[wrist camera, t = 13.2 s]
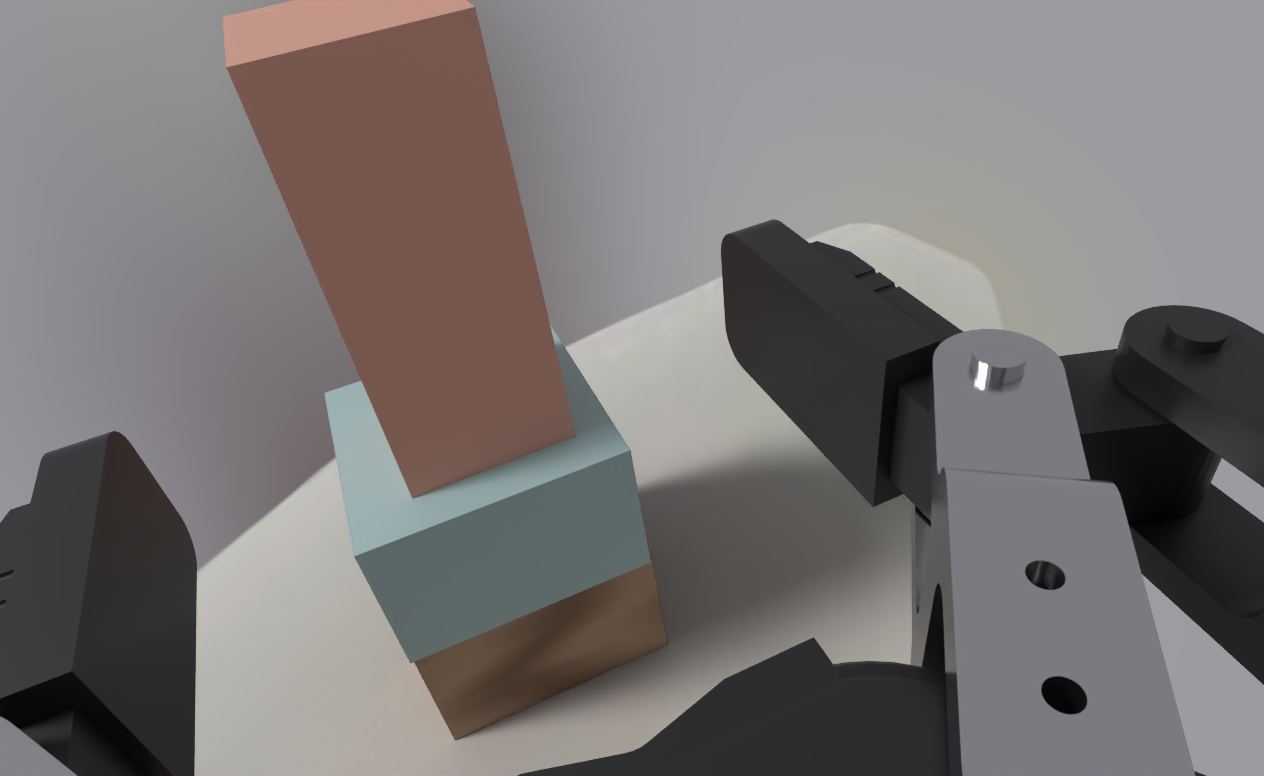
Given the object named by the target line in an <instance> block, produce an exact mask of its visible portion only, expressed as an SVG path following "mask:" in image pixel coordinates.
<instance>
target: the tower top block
mask: <svg viewBox="0 0 1264 776" xmlns="http://www.w3.org/2000/svg"><path fill="white" fill-rule="evenodd" d="M550 327H551V325H550ZM551 331H552V335H553V339H554V344H555V348H556V352H557V356H558V361H559V365H560V369H561V373H562V378H563V382H564V386H565V390H566V394H567V399H568V403H569V407H570V411H571V416H572V420H573V424H574V428H575V433H576V437H573V438H570V439H568V440H565V441H562V442H560V443H557V444H555V445H552V446H549V447H547V448H544V449H541V450H539V451H536V452H534V453H531V454H528V455H526V456H523V457H520V458H518V459H515V460H513V461H510V462H507V463H505V464H502V465H499V466H497V467H494V468H492V469H489V470H486V471H484V472H481V473H478V474H476V475H473V476H471V477H468V478H465V479H463V480H460V481H457V482H455V483H452V484H450V485H447V486H444V487H442V488H439V489H436V490H434V491H431V492H429V493H426V494H423V495H421V496H418V497H415V498H413V499H412V497H411V495H410V492H409V490H408V488H407V485H406V483H405V481H404V478H403V476H402V474H401V471H400V469H399V467H398V464H397V462H396V460H395V457H394V455H393V453H392V451H391V448H390V446H389V444H388V441H387V439H386V437H385V434H384V432H383V430H382V427H381V425H380V423H379V420H378V418H377V416H376V413H375V411H374V409H373V406H372V404H371V402H370V399H369V397H368V395H367V393H366V390H365V388H364V386H363V383H362V381H359V382H356V383H353V384H350V385H347V386H344V387H341V388H339V389H335V390H332V391H329V392H326V393H325V399H326V405H327V410H328V416H329V421H330V426H331V432H332V437H333V443H334V448H335V454H336V459H337V465H338V470H339V476H340V481H341V487H342V492H343V498H344V503H345V509H346V514H347V519H348V525H349V530H350V536H351V541H352V547H353V552H354V557H355V559H356V561H357V563H358V564H359V566H360V568H361V570H362V572H363V574H364V576H365V578H366V580H367V582H368V583H369V585H370V587H371V589H372V591H373V593H374V595H375V597H376V599H377V601H378V602H379V604H380V606H381V608H382V610H383V612H384V614H385V616H386V618H387V620H388V621H389V623H390V625H391V627H392V629H393V631H394V633H395V635H396V637H397V639H398V640H399V642H400V644H401V646H402V648H403V650H404V652H405V654H406V656H407V658H408V659H409V661H410V663H413V662H415V661H417V660H420V659H422V658H424V657H427V656H429V655H432V654H434V653H436V652H439V651H441V650H443V649H446V648H448V647H451V646H453V645H455V644H458V643H460V642H462V641H465V640H467V639H470V638H472V637H474V636H477V635H479V634H482V633H484V632H486V631H489V630H491V629H493V628H496V627H498V626H501V625H503V624H505V623H508V622H510V621H512V620H515V619H517V618H520V617H522V616H524V615H527V614H529V613H531V612H534V611H536V610H539V609H541V608H543V607H546V606H548V605H551V604H553V603H555V602H558V601H560V600H562V599H565V598H567V597H570V596H572V595H574V594H577V593H579V592H581V591H584V590H586V589H589V588H591V587H593V586H596V585H598V584H600V583H603V582H605V581H608V580H610V579H612V578H615V577H617V576H619V575H622V574H624V573H627V572H629V571H631V570H634V569H636V568H639V567H641V566H643V565H646V564H648V563H650V562H651V560H650V554H649V549H648V543H647V538H646V532H645V527H644V522H643V516H642V511H641V505H640V500H639V494H638V489H637V483H636V478H635V472H634V467H633V462H632V456H631V451H630V449H629V447H628V446H627V444H626V442H625V441H624V439H623V438H622V436H621V435H620V433H619V432H618V430H617V428H616V427H615V425H614V424H613V422H612V421H611V419H610V417H609V416H608V414H607V413H606V411H605V410H604V408H603V406H602V405H601V403H600V402H599V400H598V399H597V397H596V396H595V394H594V392H593V391H592V389H591V388H590V386H589V385H588V383H587V381H586V380H585V378H584V377H583V375H582V374H581V372H580V371H579V369H578V367H577V366H576V364H575V363H574V361H573V360H572V358H571V356H570V355H569V353H568V352H567V350H566V349H565V347H564V346H563V344H562V342H561V341H560V339H559V338H558V336H557V335H556V333H555V332H554V330H553V328H552V327H551Z"/></svg>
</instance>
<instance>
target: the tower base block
mask: <svg viewBox="0 0 1264 776" xmlns="http://www.w3.org/2000/svg"><path fill="white" fill-rule="evenodd" d="M650 560H651V562H650V563H648V564H646V565H643V566H641V567H639V568H636V569H634V570H631V571H629V572H627V573H624V574H622V575H619V576H617V577H615V578H612V579H610V580H608V581H605V582H603V583H600V584H598V585H596V586H593V587H591V588H589V589H586V590H584V591H581V592H579V593H577V594H574V595H572V596H570V597H567V598H565V599H562V600H560V601H558V602H555V603H553V604H551V605H548V606H546V607H543V608H541V609H539V610H536V611H534V612H531V613H529V614H527V615H524V616H522V617H520V618H517V619H515V620H512V621H510V622H508V623H505V624H503V625H501V626H498V627H496V628H493V629H491V630H489V631H486V632H484V633H482V634H479V635H477V636H474V637H472V638H470V639H467V640H465V641H462V642H460V643H458V644H455V645H453V646H451V647H448V648H446V649H443V650H441V651H439V652H436V653H434V654H432V655H429V656H427V657H424V658H422V659H420V660H417V661H415V662H414V663H415V665H416V666H417V668H418V670H419V672H420V674H421V676H422V678H423V680H424V682H425V684H426V686H427V688H428V690H429V691H430V693H431V695H432V697H433V699H434V701H435V703H436V705H437V707H438V709H439V711H440V713H441V714H442V716H443V718H444V720H445V722H446V724H447V726H448V728H449V730H450V732H451V734H452V736H453V737H454V739H455V740H457V739H459V738H461V737H464V736H466V735H468V734H470V733H472V732H475V731H477V730H479V729H481V728H483V727H486V726H488V725H490V724H492V723H494V722H497V721H499V720H501V719H503V718H505V717H508V716H510V715H512V714H514V713H516V712H519V711H521V710H523V709H525V708H527V707H530V706H532V705H534V704H536V703H538V702H541V701H543V700H545V699H547V698H549V697H552V696H554V695H556V694H558V693H560V692H563V691H565V690H567V689H569V688H571V687H574V686H576V685H578V684H580V683H582V682H585V681H587V680H589V679H591V678H593V677H595V676H598V675H600V674H602V673H604V672H606V671H609V670H611V669H613V668H615V667H617V666H620V665H622V664H624V663H626V662H628V661H631V660H633V659H635V658H637V657H639V656H642V655H644V654H646V653H648V652H650V651H653V650H655V649H657V648H659V647H661V646H664V645H666V644H667V639H666V633H665V628H664V622H663V617H662V611H661V606H660V600H659V594H658V589H657V583H656V578H655V572H654V567H653V561H652V558H651V556H650Z"/></svg>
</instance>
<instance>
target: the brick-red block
mask: <svg viewBox="0 0 1264 776" xmlns="http://www.w3.org/2000/svg"><path fill="white" fill-rule="evenodd" d="M223 29H224V42H225V54H226V68H227V70H228V72H229V75H230V77H231V79H232V81H233V84H234V86H235V88H236V91H237V93H238V95H239V98H240V100H241V102H242V105H243V107H244V109H245V112H246V114H247V116H248V118H249V121H250V123H251V126H252V128H253V130H254V133H255V135H256V137H257V139H258V142H259V144H260V146H261V149H262V151H263V153H264V156H265V158H266V160H267V163H268V165H269V167H270V170H271V172H272V174H273V177H274V179H275V181H276V183H277V186H278V188H279V190H280V193H281V195H282V198H283V200H284V202H285V204H286V207H287V209H288V211H289V214H290V216H291V218H292V221H293V223H294V225H295V228H296V230H297V232H298V235H299V237H300V239H301V242H302V244H303V246H304V249H305V251H306V253H307V256H308V258H309V260H310V262H311V265H312V267H313V269H314V272H315V274H316V276H317V279H318V281H319V283H320V286H321V288H322V290H323V293H324V295H325V297H326V300H327V302H328V304H329V306H330V309H331V311H332V313H333V316H334V318H335V321H336V323H337V325H338V327H339V330H340V332H341V334H342V337H343V339H344V341H345V344H346V346H347V348H348V350H349V353H350V355H351V357H352V360H353V362H354V365H355V367H356V369H357V372H358V374H359V376H360V379H361V381H362V383H363V386H364V388H365V390H366V393H367V395H368V397H369V399H370V402H371V404H372V406H373V409H374V411H375V413H376V416H377V418H378V420H379V423H380V425H381V427H382V430H383V432H384V434H385V437H386V439H387V441H388V444H389V446H390V448H391V451H392V453H393V455H394V457H395V460H396V462H397V464H398V467H399V469H400V471H401V474H402V476H403V478H404V481H405V483H406V485H407V488H408V490H409V492H410V495H411V497H412V499H413V498H415V497H418V496H421V495H423V494H426V493H429V492H431V491H434V490H436V489H439V488H442V487H444V486H447V485H450V484H452V483H455V482H457V481H460V480H463V479H465V478H468V477H471V476H473V475H476V474H478V473H481V472H484V471H486V470H489V469H492V468H494V467H497V466H499V465H502V464H505V463H507V462H510V461H513V460H515V459H518V458H520V457H523V456H526V455H528V454H531V453H534V452H536V451H539V450H541V449H544V448H547V447H549V446H552V445H555V444H557V443H560V442H562V441H565V440H568V439H570V438H573V437H576V433H575V428H574V424H573V420H572V416H571V411H570V407H569V403H568V399H567V394H566V390H565V386H564V382H563V378H562V373H561V369H560V365H559V361H558V356H557V352H556V348H555V344H554V339H553V335H552V331H551V327H550V323H549V318H548V314H547V310H546V306H545V301H544V298H543V293H542V289H541V284H540V280H539V276H538V272H537V268H536V263H535V259H534V255H533V251H532V247H531V242H530V238H529V234H528V229H527V225H526V221H525V217H524V212H523V208H522V204H521V200H520V195H519V191H518V187H517V183H516V179H515V175H514V170H513V167H512V162H511V158H510V153H509V149H508V145H507V141H506V136H505V132H504V128H503V123H502V119H501V115H500V111H499V107H498V103H497V98H496V94H495V90H494V85H493V81H492V77H491V73H490V69H489V64H488V60H487V56H486V52H485V47H484V43H483V39H482V35H481V30H480V27H479V22H478V18H477V13H476V9H475V6H473V5H472V4H471V3H469V2H468V1H467V0H294V1H290V2H285V3H281V4H276V5H272V6H268V7H263V8H259V9H255V10H250V11H246V12H242V13H237V14H233V15H229V16H224V17H223Z"/></svg>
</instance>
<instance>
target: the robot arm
mask: <svg viewBox="0 0 1264 776" xmlns="http://www.w3.org/2000/svg"><path fill="white" fill-rule="evenodd" d="M721 260H722V277H723V293H724V309H725V325H726V332H727V337H728V341H729V344H730V346H731V349H732V351H733V353H734V355H735V357H736V359H737V361H738V362H739V364H740V365H741V366H742V367H743V369H744V370H745V371H746V372H747V373H748V374H749V375H750V376H751V377H752V378H753V379H754V380H755V381H756V382H757V384H758V385H759V386H760V387H761V388H762V389H763V390H764V391H765V392H766V393H767V394H768V395H769V396H770V397H771V399H772V400H773V401H774V402H775V403H776V404H777V405H778V406H779V407H780V408H781V409H782V410H783V411H784V412H785V413H786V415H787V416H788V417H789V418H790V419H791V420H792V421H793V422H794V423H795V424H796V425H797V426H798V427H799V428H800V429H801V431H802V432H803V433H804V434H805V435H806V436H807V437H808V438H809V439H810V440H811V441H812V442H813V443H814V444H815V446H816V447H817V448H818V449H819V450H820V451H821V452H822V453H823V454H824V455H825V456H826V457H827V458H828V459H829V460H830V462H831V463H832V464H833V465H834V466H835V467H836V468H837V469H838V470H839V471H840V472H841V473H842V474H843V475H844V476H845V478H846V479H847V480H848V481H849V482H850V483H851V484H852V485H853V486H854V487H855V488H856V489H857V490H858V491H859V492H860V494H861V495H862V496H863V497H864V498H865V499H866V500H867V501H868V502H869V503H870V504H871V505H872V506H873V507H874V506H876V505H879V504H881V503H883V502H886V501H888V500H890V499H893V498H895V497H897V496H899V495H902V494H904V495H905V496H906V497H907V498H908V499H909V500H910V501H911V502H912V503H913V512H912V520H911V554H912V648H911V662H910V665H908V664H901V663H895V662H878V661H862V662H846V663H839V664H832V662H831V661H830V659H829V658H828V657H827V655H826V654H825V652H824V651H823V650H822V648H821V647H820V645H819V644H818V643H817V641H816V640H815V639H814V638H812V639H809V640H807V641H805V642H803V643H801V644H799V645H797V646H794V647H792V648H790V649H788V650H786V651H784V652H781V653H779V654H777V655H775V656H773V657H771V658H769V659H766V660H764V661H762V662H760V663H758V664H756V665H754V666H751V667H749V668H747V669H745V670H743V671H741V672H739V673H736V674H734V675H732V676H730V677H728V678H726V679H724V680H723V681H722V682H720V683H719V684H718V685H717V686H715V687H714V688H713V689H712V690H711V691H709V692H708V693H707V694H706V695H705V696H703V697H702V698H701V699H700V700H699V701H697V702H696V703H695V704H694V705H692V706H691V707H690V708H689V709H688V710H686V711H685V712H684V713H683V714H682V715H680V716H679V717H678V718H677V719H676V720H674V721H673V722H672V723H671V724H670V725H668V726H667V727H666V728H665V729H663V730H662V731H661V732H660V733H659V734H657V735H656V736H655V737H654V738H653V739H651V740H650V741H649V742H648V743H646V744H645V745H644V746H642V747H641V748H639V749H636V750H634V751H632V752H628V753H624V754H619V755H614V756H609V757H604V758H599V759H594V760H589V761H584V762H579V763H574V764H569V765H564V766H558V767H553V768H548V769H543V770H538V771H533V772H528V773H523V774H520V775H518V776H1205V775H1203V774H1200V773H1198V772H1195V771H1194V770H1193V765H1192V761H1191V758H1190V754H1189V750H1188V747H1187V743H1186V739H1185V735H1184V731H1183V728H1182V724H1181V720H1180V717H1179V713H1178V709H1177V705H1176V702H1175V698H1174V694H1173V690H1172V686H1171V683H1170V679H1169V675H1168V671H1167V668H1166V664H1165V660H1164V657H1163V653H1162V649H1161V645H1160V641H1159V638H1158V634H1157V630H1156V626H1155V623H1154V619H1153V615H1152V611H1151V608H1150V604H1149V600H1148V596H1147V592H1146V589H1145V585H1144V581H1143V577H1142V574H1143V575H1144V576H1145V577H1146V578H1147V579H1148V580H1149V581H1150V582H1152V584H1154V585H1155V586H1156V587H1157V588H1158V589H1159V590H1160V591H1161V592H1162V593H1164V594H1165V595H1166V596H1167V597H1168V598H1169V599H1170V600H1171V601H1172V602H1173V603H1174V604H1176V605H1177V606H1178V607H1179V608H1180V609H1181V610H1182V611H1183V612H1184V613H1186V614H1187V615H1188V616H1189V617H1190V618H1191V619H1192V620H1193V621H1194V622H1195V623H1196V624H1198V625H1199V626H1200V627H1201V628H1202V629H1203V630H1204V631H1205V632H1206V633H1207V634H1209V635H1210V636H1211V637H1212V638H1213V639H1214V640H1215V641H1216V642H1217V643H1218V644H1220V645H1221V646H1222V647H1223V648H1224V649H1225V650H1226V651H1227V652H1228V653H1230V655H1232V656H1233V657H1234V658H1235V659H1236V660H1237V661H1238V662H1239V663H1240V664H1241V665H1243V666H1244V667H1245V668H1246V669H1247V670H1248V671H1249V672H1250V673H1251V674H1253V675H1254V676H1255V677H1256V678H1257V679H1258V680H1259V681H1260V682H1261V683H1262V684H1263V685H1264V523H1263V522H1262V521H1261V520H1259V519H1258V518H1257V517H1255V516H1254V515H1253V514H1251V513H1250V512H1249V511H1247V510H1246V509H1245V508H1243V507H1242V506H1241V505H1239V504H1238V503H1237V502H1235V501H1234V500H1233V499H1231V498H1230V497H1228V496H1227V495H1226V494H1225V493H1223V492H1222V491H1221V490H1219V489H1218V488H1217V487H1215V486H1213V485H1212V484H1211V481H1212V478H1213V476H1214V474H1215V472H1216V470H1217V467H1218V465H1219V463H1220V461H1221V458H1223V459H1224V460H1226V461H1227V462H1229V463H1230V464H1232V465H1233V466H1234V467H1236V468H1237V469H1238V470H1240V471H1241V472H1243V473H1244V474H1246V475H1247V476H1248V477H1250V478H1251V479H1253V480H1254V481H1255V482H1257V483H1258V484H1260V485H1261V486H1262V487H1264V334H1262V333H1261V332H1259V331H1257V330H1255V329H1254V328H1252V327H1250V326H1248V325H1246V324H1245V323H1243V322H1241V321H1239V320H1237V319H1235V318H1233V317H1230V316H1228V315H1225V314H1222V313H1219V312H1216V311H1212V310H1209V309H1204V308H1198V307H1191V306H1178V305H1172V306H1171V305H1170V306H1158V307H1152V308H1148V309H1145V310H1142V311H1140V312H1138V313H1136V314H1134V315H1133V316H1131V317H1130V318H1129V319H1128V320H1127V322H1126V324H1125V326H1124V329H1123V332H1122V336H1121V339H1120V342H1119V345H1118V349H1113V350H1105V351H1097V352H1089V353H1082V354H1073V355H1066V356H1058V355H1057V354H1056V353H1055V352H1054V351H1052V349H1051V348H1049V347H1048V346H1046V345H1045V344H1043V343H1041V342H1040V341H1037V340H1036V339H1033V338H1031V337H1028V336H1025V335H1022V334H1019V333H1015V332H1010V331H1005V330H996V329H980V330H971V331H966V332H963V331H961V330H960V329H959V328H957V327H956V326H954V325H953V324H952V323H950V322H949V321H947V320H946V319H945V318H943V317H942V316H940V315H939V314H937V313H936V312H935V311H933V310H932V309H930V308H929V307H928V306H926V305H925V304H923V303H922V302H921V301H919V300H918V299H916V298H915V297H914V296H912V295H911V294H909V293H908V292H906V291H905V290H904V289H902V288H901V287H897V288H896V287H895V284H894V282H892V281H891V280H890V279H888V278H887V277H885V276H884V275H882V274H881V273H880V272H879V273H876V272H875V269H874V268H873V267H871V266H870V265H868V264H867V263H866V262H864V261H863V260H861V259H860V258H859V257H857V256H856V255H854V254H853V253H851V252H849V251H846V250H843V249H840V248H837V247H834V246H831V245H828V244H825V243H821V242H818V241H816V242H813V243H808V242H807V241H806V240H804V239H803V238H801V237H800V236H799V235H798V234H796V233H795V232H794V231H792V230H791V229H790V228H788V227H787V226H785V225H784V224H783V223H782V222H780V221H778V220H770V221H767V222H764V223H761V224H757V225H754V226H751V227H748V228H745V229H742V230H739V231H736V232H733V233H730V234H727V235H726V236H725V237H724V238H723V241H722V245H721ZM1141 573H1142V574H1141ZM196 592H197V562H196V555H195V550H194V547H193V543H192V540H191V537H190V534H189V532H188V530H187V527H186V525H185V523H184V521H183V520H182V518H181V516H180V515H179V513H178V512H177V511H176V509H175V508H174V506H173V505H172V503H171V502H170V500H169V499H168V497H167V496H166V494H165V493H164V491H163V490H162V489H161V487H160V486H159V484H158V483H157V481H156V480H155V478H154V477H153V475H152V474H151V472H150V471H149V469H148V468H147V467H146V465H145V464H144V462H143V461H142V459H141V458H140V456H139V455H138V454H137V452H136V450H135V449H134V447H133V446H132V445H131V443H130V442H129V441H128V440H127V439H126V437H124V436H123V435H122V434H121V433H119V432H116V431H114V432H110V433H107V434H103V435H100V436H97V437H94V438H91V439H88V440H85V441H82V442H79V443H76V444H72V445H69V446H66V447H64V448H60V449H58V450H54V451H51V452H48V453H46V454H44V456H43V457H42V460H41V463H40V466H39V470H38V475H37V479H36V483H35V487H34V491H33V495H32V499H31V503H30V504H27V505H24V506H21V507H18V508H15V509H12V510H10V511H9V513H8V514H7V515H6V516H5V518H4V519H3V520H2V522H1V523H0V776H194V756H195V674H196Z"/></svg>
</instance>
